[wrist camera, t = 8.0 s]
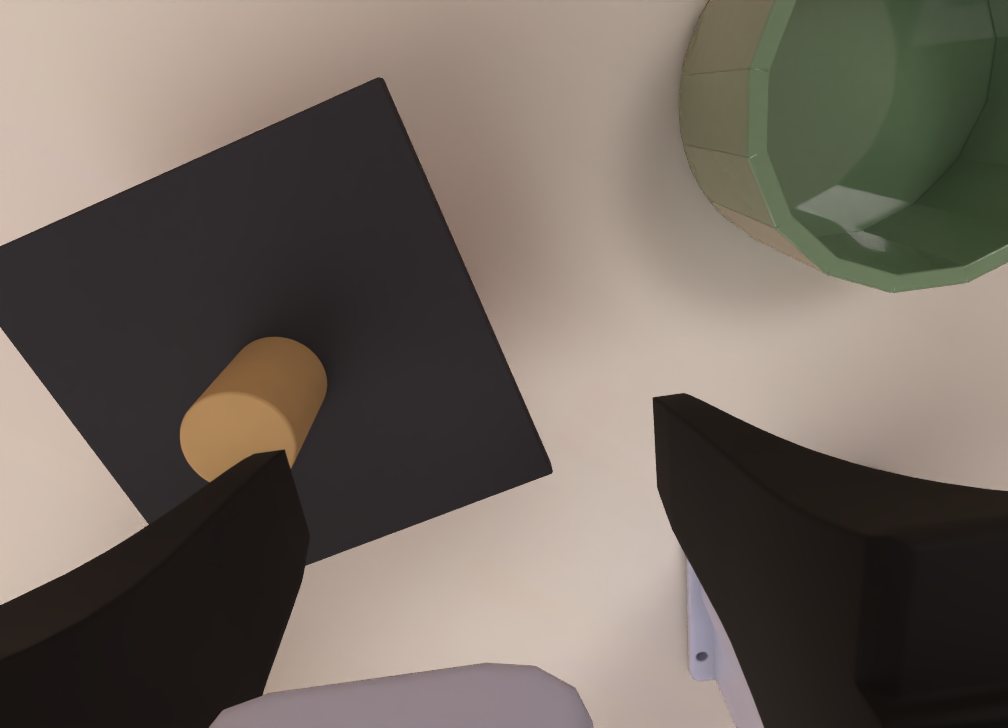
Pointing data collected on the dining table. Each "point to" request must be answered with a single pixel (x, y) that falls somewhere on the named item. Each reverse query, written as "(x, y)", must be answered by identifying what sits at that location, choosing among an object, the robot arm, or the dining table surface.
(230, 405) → the dark square pegged slab
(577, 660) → the dining table surface
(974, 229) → the sage cup
